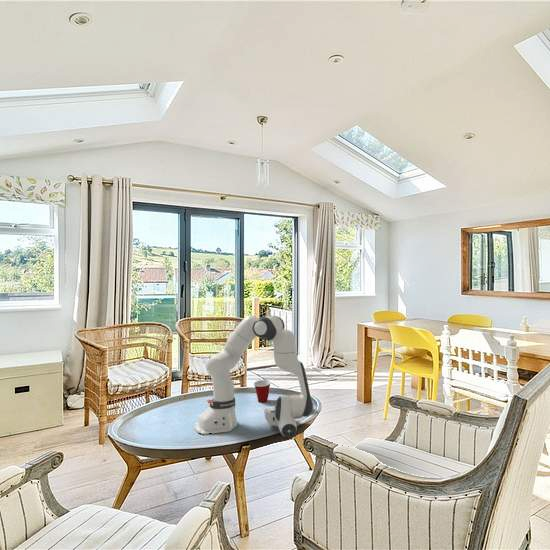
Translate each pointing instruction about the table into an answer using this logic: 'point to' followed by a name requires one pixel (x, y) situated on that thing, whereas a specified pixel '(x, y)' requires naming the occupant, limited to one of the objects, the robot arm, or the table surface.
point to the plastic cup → (262, 390)
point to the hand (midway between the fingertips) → (281, 407)
